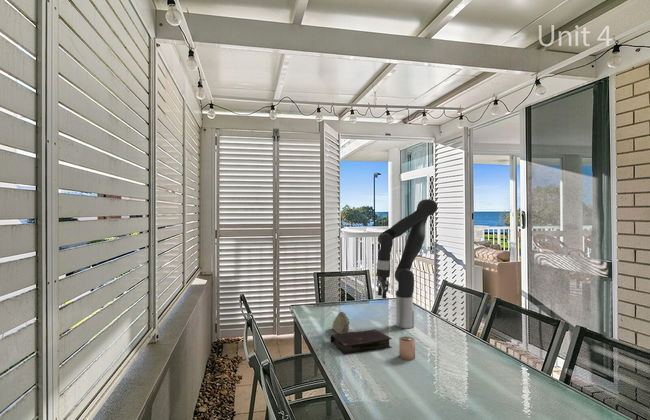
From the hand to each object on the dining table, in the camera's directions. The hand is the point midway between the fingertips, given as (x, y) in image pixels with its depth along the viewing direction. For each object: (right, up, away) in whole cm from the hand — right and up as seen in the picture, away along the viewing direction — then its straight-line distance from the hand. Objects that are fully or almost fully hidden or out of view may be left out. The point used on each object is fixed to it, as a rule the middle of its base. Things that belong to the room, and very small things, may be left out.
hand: (381, 296), depth 212 cm
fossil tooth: (-24, -18, -7) cm, 30 cm away
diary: (-15, -18, -28) cm, 37 cm away
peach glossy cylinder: (+5, -17, -44) cm, 47 cm away
